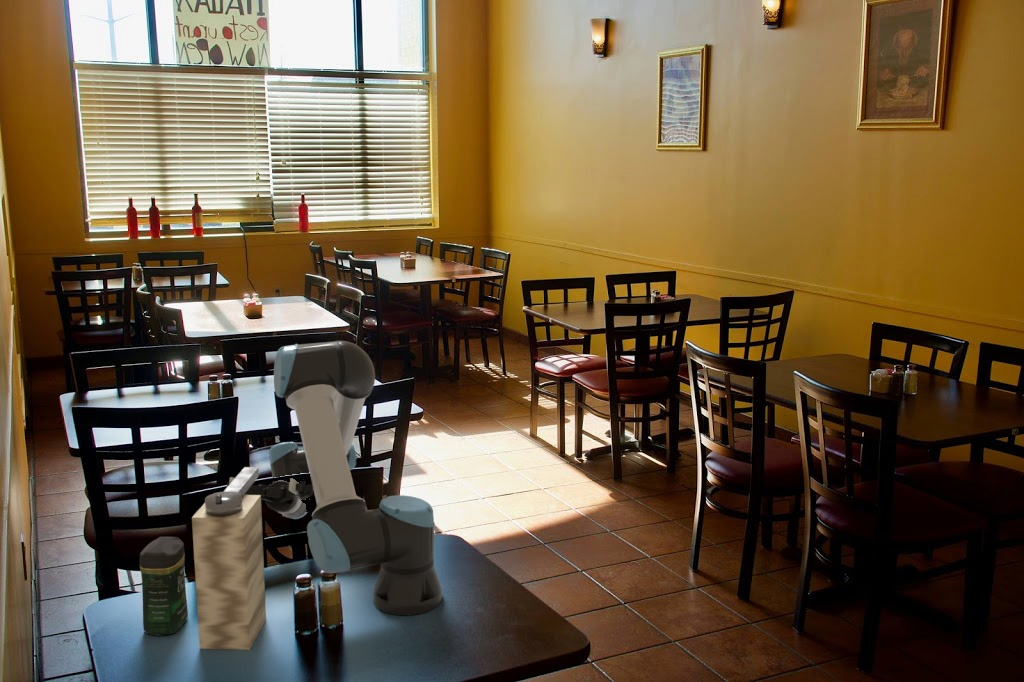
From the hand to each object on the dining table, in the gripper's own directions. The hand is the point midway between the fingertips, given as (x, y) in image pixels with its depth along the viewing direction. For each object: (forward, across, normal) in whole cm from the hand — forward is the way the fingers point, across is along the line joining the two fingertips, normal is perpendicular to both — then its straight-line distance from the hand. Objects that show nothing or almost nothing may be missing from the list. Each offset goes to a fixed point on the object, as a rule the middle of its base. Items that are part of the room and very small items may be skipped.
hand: (260, 483), depth 205 cm
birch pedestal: (+8, 0, -32) cm, 33 cm away
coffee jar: (+6, +15, -31) cm, 35 cm away
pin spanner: (+18, 0, -5) cm, 18 cm away
